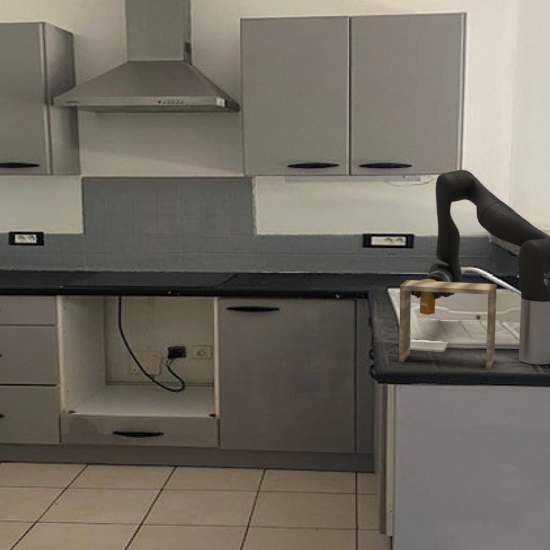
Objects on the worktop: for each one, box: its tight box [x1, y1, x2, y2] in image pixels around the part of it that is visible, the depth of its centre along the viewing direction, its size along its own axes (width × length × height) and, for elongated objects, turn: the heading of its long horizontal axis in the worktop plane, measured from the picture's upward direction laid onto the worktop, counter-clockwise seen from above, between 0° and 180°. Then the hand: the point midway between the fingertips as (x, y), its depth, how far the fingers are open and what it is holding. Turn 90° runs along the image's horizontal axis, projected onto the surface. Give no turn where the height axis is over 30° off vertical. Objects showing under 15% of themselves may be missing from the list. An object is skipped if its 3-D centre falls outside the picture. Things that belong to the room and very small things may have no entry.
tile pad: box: [410, 342, 449, 353], centre depth 244 cm, size 11×11×1 cm
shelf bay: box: [398, 279, 498, 370], centre depth 225 cm, size 24×9×21 cm, turn 70°
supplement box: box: [419, 278, 436, 316], centre depth 241 cm, size 3×3×10 cm
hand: (426, 295), depth 239 cm, fingers closed on supplement box, 4 cm apart
